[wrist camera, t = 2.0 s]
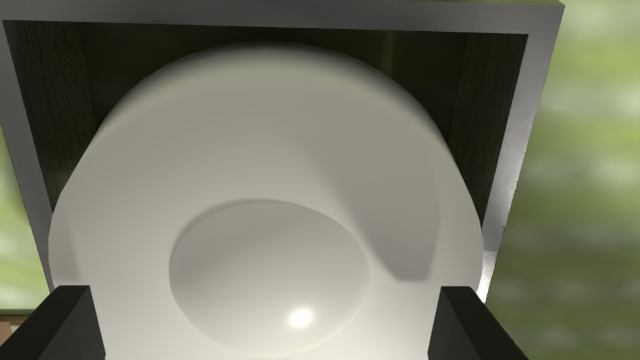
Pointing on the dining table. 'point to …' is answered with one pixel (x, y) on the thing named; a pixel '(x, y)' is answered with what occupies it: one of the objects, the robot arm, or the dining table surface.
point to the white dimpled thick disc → (266, 212)
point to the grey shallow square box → (278, 11)
